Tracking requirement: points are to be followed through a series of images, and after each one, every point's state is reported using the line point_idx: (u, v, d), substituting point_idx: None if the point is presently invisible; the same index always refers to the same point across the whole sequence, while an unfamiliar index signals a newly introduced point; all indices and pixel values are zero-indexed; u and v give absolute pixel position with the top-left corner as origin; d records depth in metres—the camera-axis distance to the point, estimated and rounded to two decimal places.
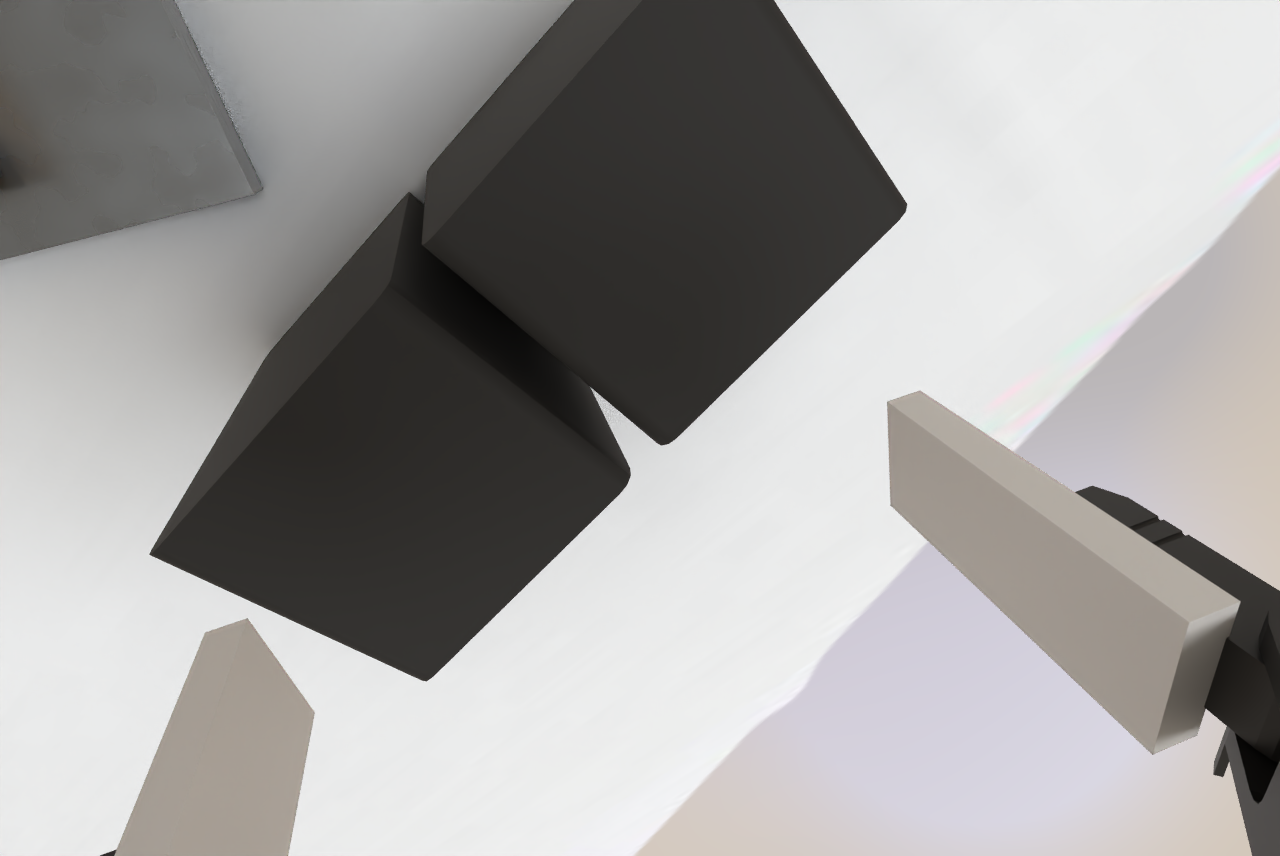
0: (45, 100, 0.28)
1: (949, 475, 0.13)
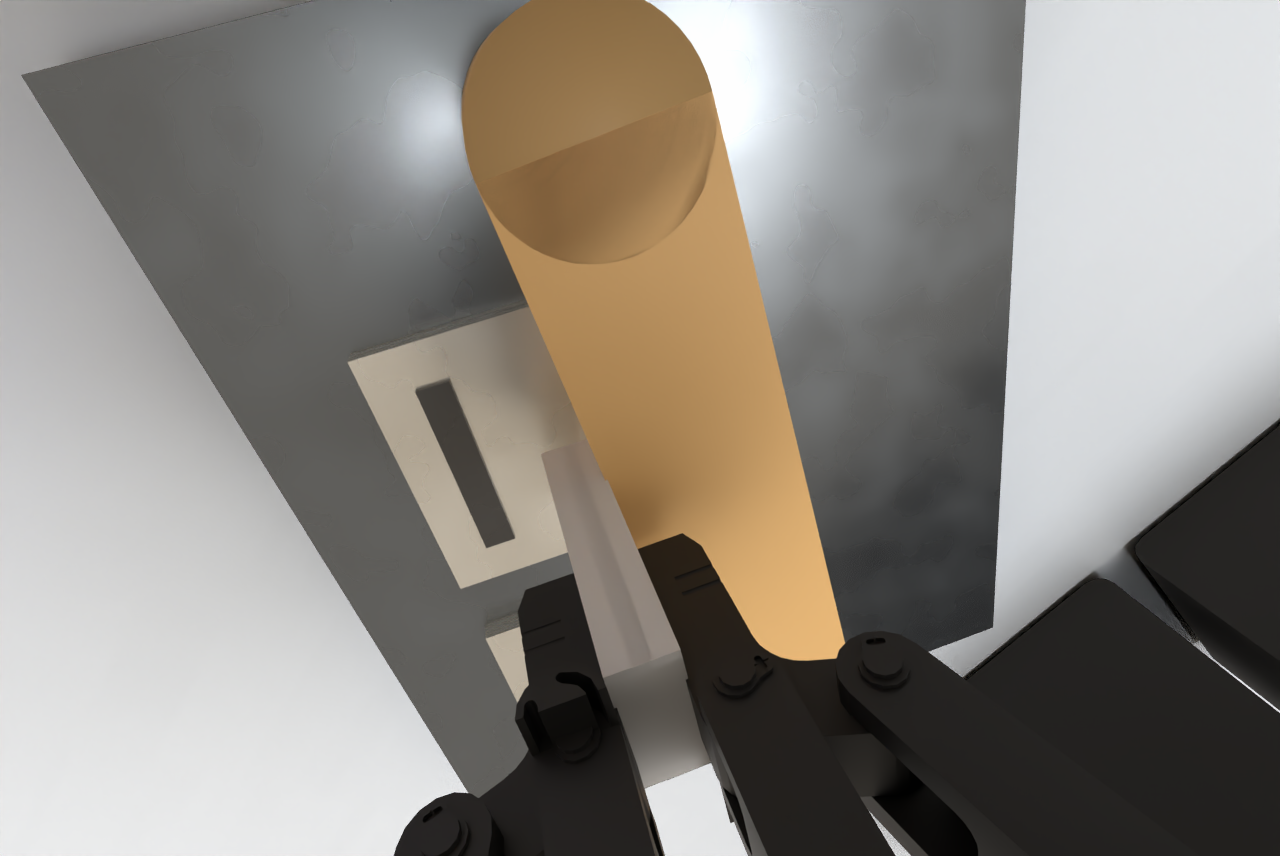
0: (838, 576, 0.23)
1: None
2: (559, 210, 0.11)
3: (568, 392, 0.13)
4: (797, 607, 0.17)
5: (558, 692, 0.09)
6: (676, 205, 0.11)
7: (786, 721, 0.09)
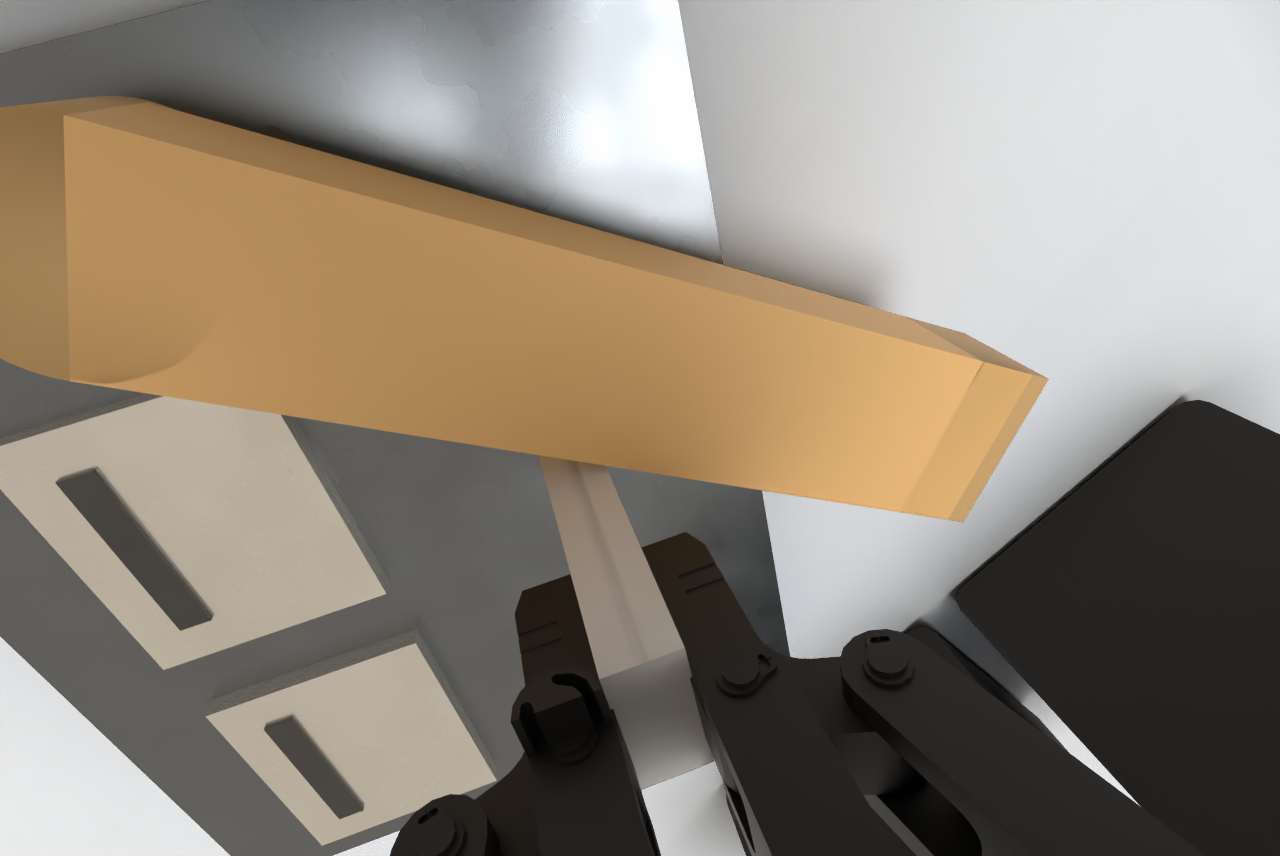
0: None
1: None
2: (133, 329, 0.11)
3: (338, 421, 0.12)
4: (775, 355, 0.14)
5: (554, 694, 0.09)
6: (185, 221, 0.10)
7: (790, 720, 0.09)
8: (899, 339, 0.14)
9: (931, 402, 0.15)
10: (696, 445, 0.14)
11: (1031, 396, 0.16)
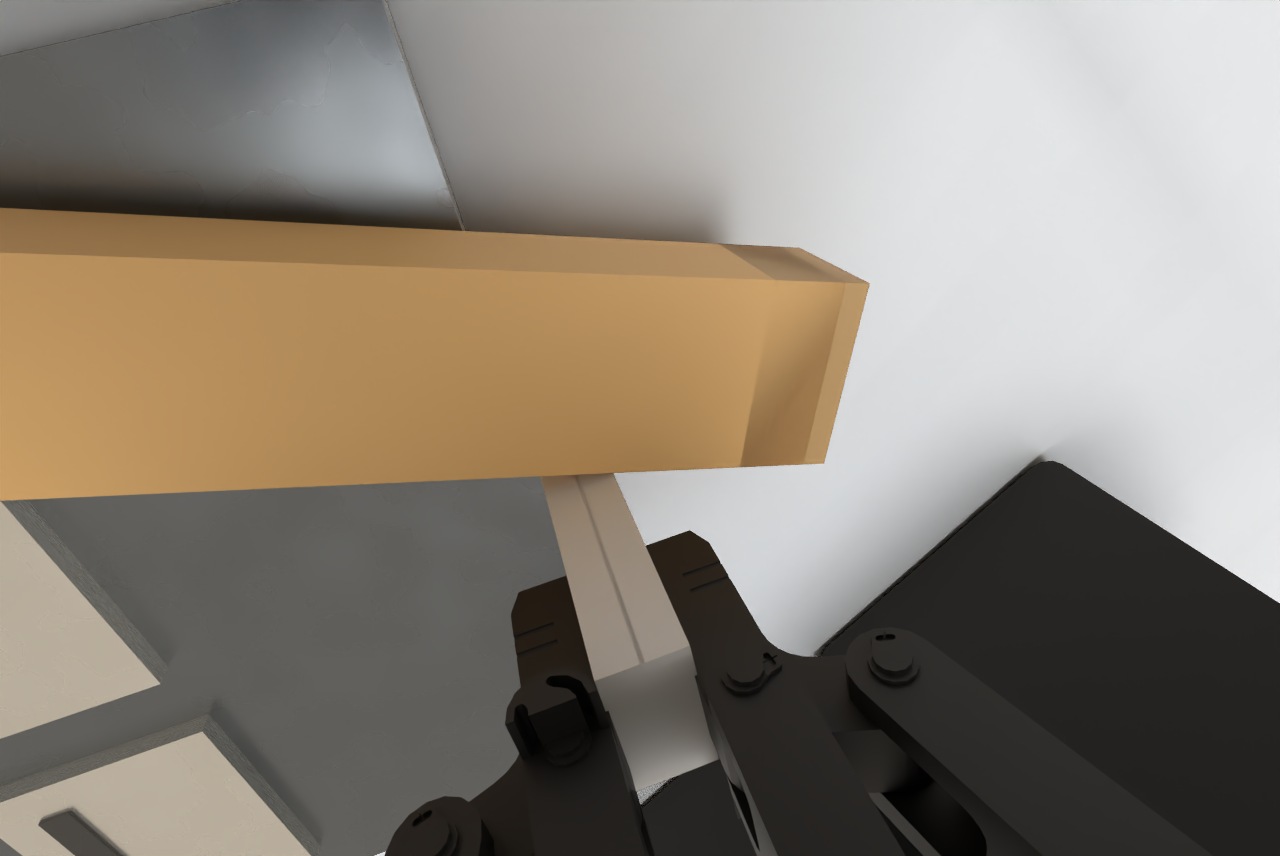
0: (427, 718, 0.21)
1: None
2: None
3: (18, 497, 0.11)
4: (506, 325, 0.12)
5: (549, 695, 0.09)
6: None
7: (794, 718, 0.09)
8: (657, 276, 0.12)
9: (728, 339, 0.13)
10: (454, 442, 0.12)
11: (854, 308, 0.13)
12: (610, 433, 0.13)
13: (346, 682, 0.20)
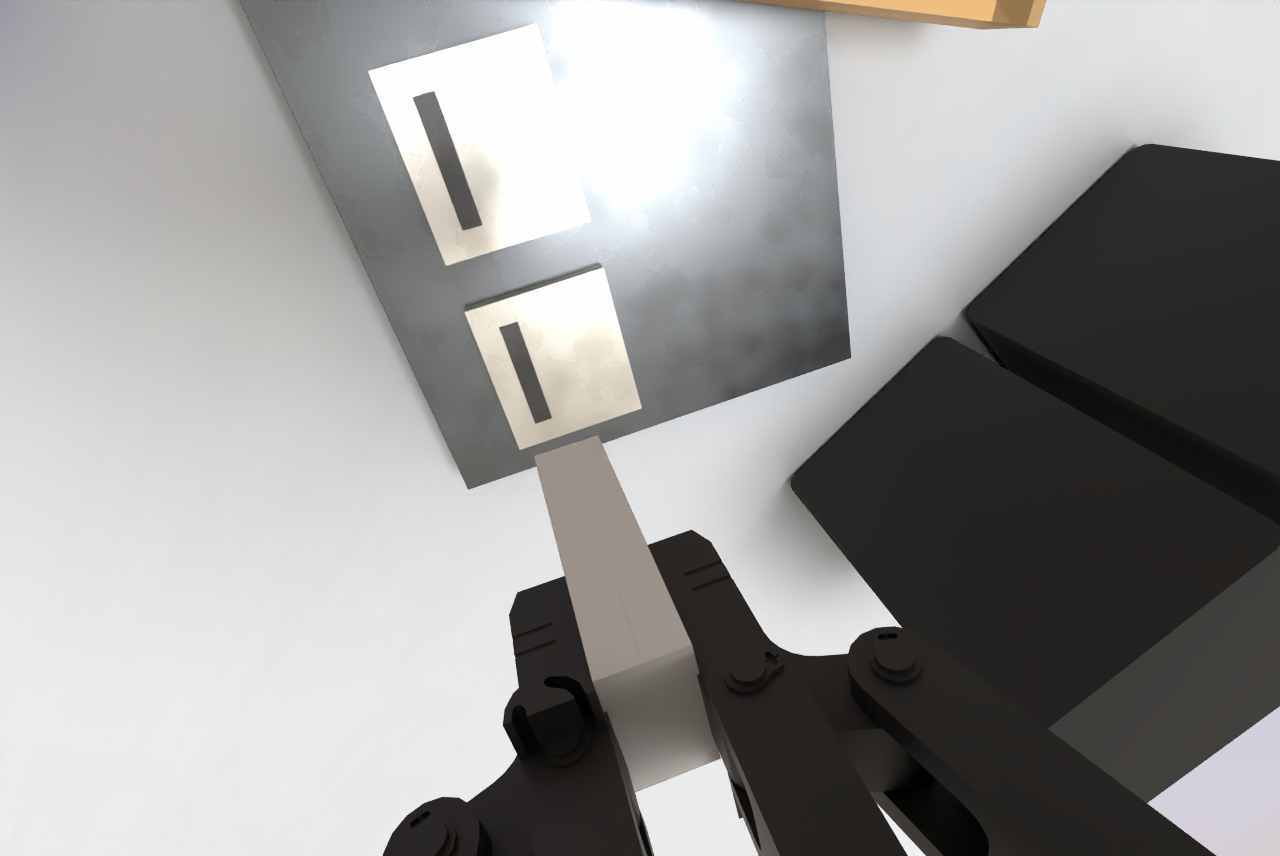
0: (724, 295, 0.31)
1: None
2: None
3: None
4: None
5: (546, 697, 0.09)
6: None
7: (796, 717, 0.09)
8: None
9: None
10: None
11: None
12: None
13: (683, 252, 0.30)
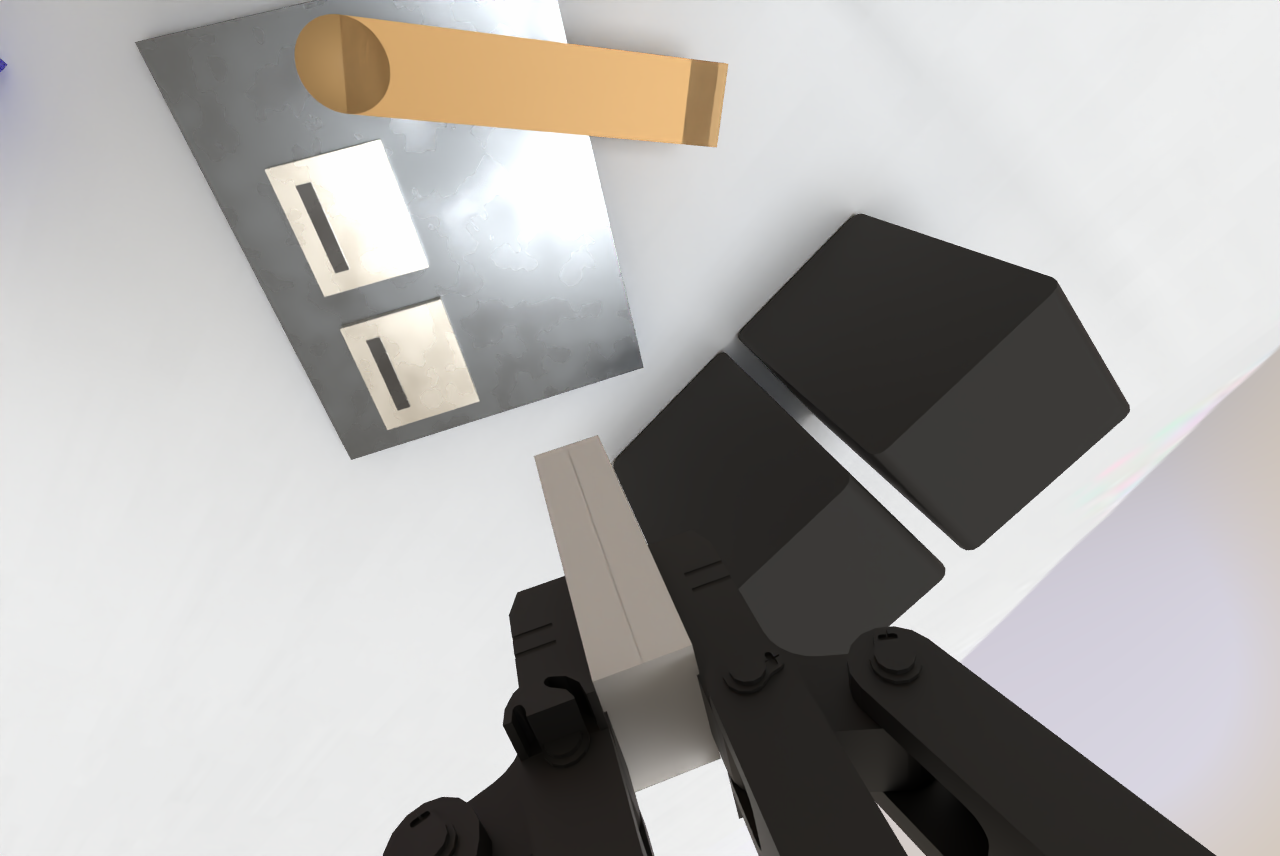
0: (537, 319, 0.43)
1: None
2: (364, 90, 0.32)
3: (435, 121, 0.33)
4: (596, 68, 0.34)
5: (546, 696, 0.09)
6: (376, 45, 0.31)
7: (796, 718, 0.09)
8: None
9: (675, 83, 0.35)
10: (575, 117, 0.34)
11: (723, 74, 0.35)
12: (631, 120, 0.35)
13: (502, 289, 0.42)
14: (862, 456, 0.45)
